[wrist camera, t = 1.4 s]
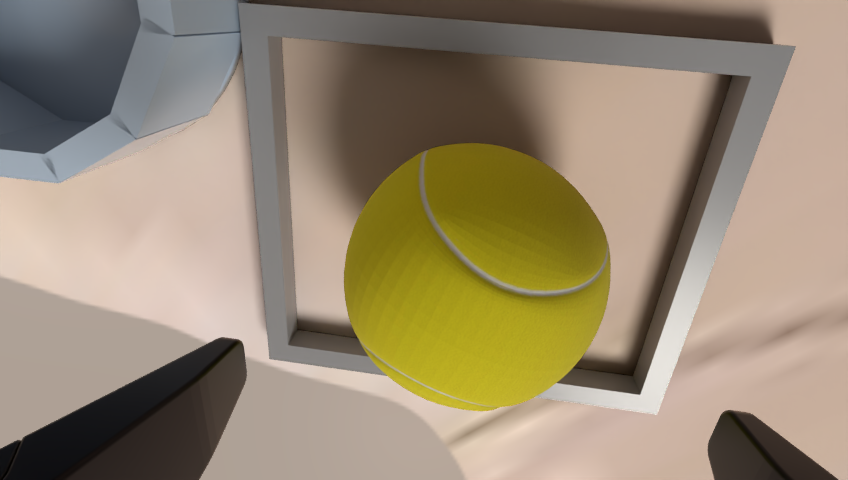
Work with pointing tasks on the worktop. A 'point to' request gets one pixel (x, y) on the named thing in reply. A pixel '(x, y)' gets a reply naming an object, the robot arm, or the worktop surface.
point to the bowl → (106, 78)
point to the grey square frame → (736, 128)
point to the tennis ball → (476, 276)
